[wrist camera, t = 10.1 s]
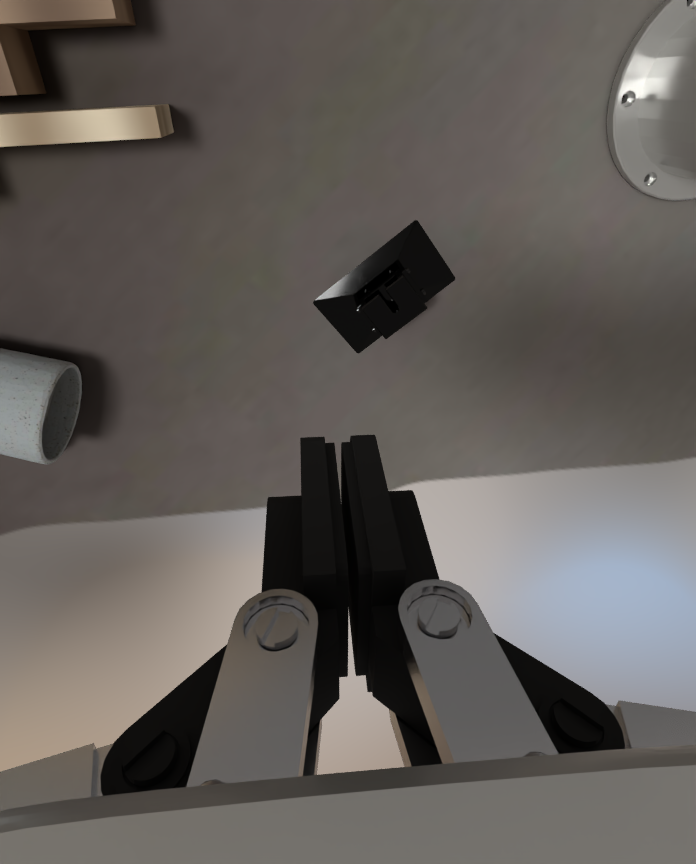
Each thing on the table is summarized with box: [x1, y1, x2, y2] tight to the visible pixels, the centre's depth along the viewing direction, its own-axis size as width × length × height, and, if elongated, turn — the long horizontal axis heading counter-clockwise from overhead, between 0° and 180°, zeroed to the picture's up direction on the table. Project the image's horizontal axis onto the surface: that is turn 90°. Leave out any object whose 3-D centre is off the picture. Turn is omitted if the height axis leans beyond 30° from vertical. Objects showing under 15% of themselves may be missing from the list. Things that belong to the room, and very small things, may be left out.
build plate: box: [313, 220, 455, 353], centre depth 39 cm, size 12×7×5 cm, turn 128°
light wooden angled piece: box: [0, 104, 174, 147], centre depth 28 cm, size 14×16×4 cm
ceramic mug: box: [0, 348, 82, 464], centre depth 39 cm, size 11×8×8 cm
